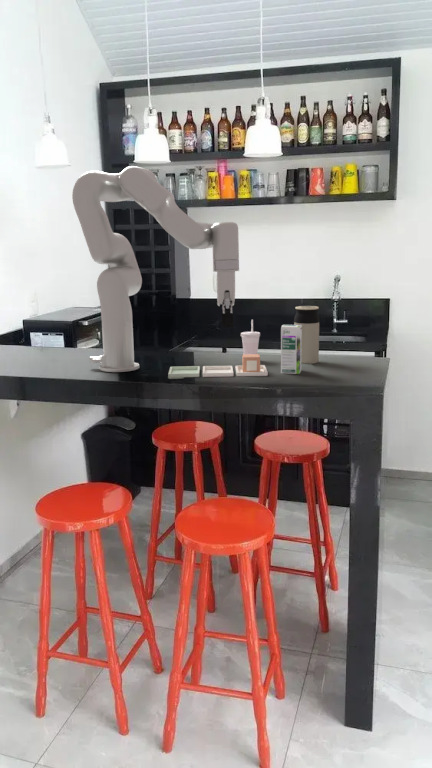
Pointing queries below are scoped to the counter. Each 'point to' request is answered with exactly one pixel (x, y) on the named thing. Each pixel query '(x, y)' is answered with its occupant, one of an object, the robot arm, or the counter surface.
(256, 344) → the smoothie
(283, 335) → the syrup box
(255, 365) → the light orange cube
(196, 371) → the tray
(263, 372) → the tray
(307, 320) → the travel mug
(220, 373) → the tray
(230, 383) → the counter surface
